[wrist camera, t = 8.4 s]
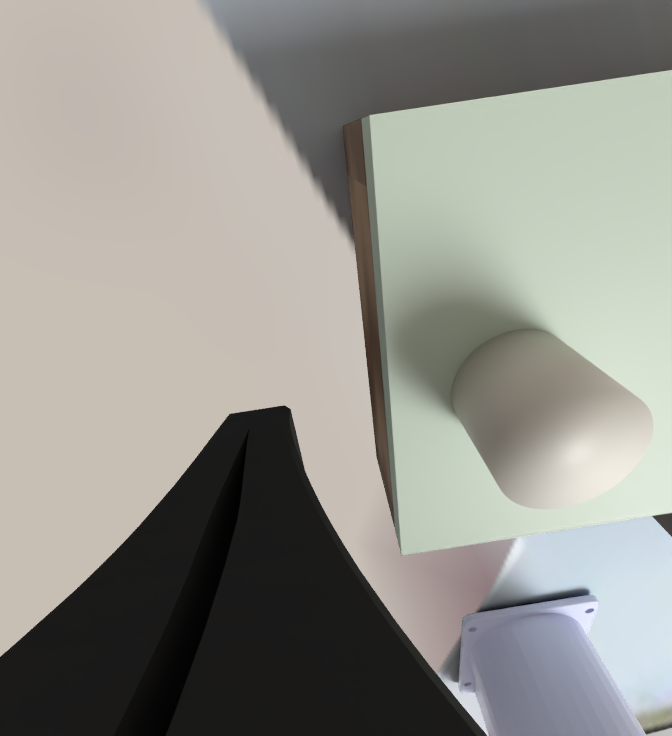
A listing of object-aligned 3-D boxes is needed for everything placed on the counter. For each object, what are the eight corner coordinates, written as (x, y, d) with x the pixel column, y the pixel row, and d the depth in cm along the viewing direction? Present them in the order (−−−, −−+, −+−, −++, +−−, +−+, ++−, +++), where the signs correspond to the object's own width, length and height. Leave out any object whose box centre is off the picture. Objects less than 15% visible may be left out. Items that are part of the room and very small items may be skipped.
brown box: (747, 398, 17) (847, 454, 14) (376, 457, 17) (394, 527, 14) (920, 39, 11) (1165, -2, 8) (342, 126, 11) (360, 119, 8)
